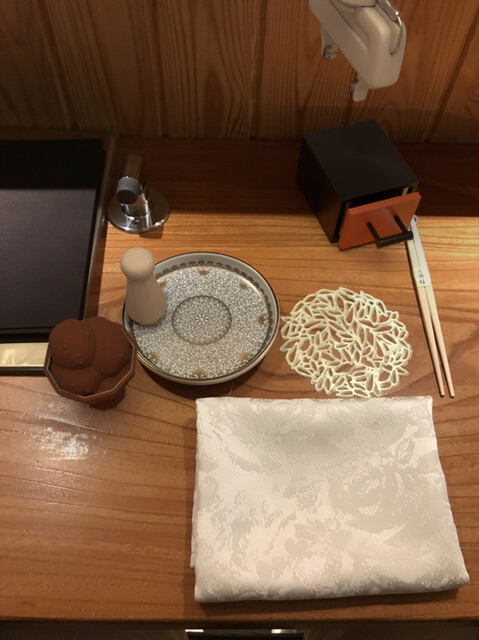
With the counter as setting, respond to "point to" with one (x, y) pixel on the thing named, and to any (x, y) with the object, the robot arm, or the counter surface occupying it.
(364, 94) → the robot arm
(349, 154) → the black drawer cabinet
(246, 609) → the counter surface
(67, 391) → the ice cream bowl
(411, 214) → the red drawer
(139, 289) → the salt shaker
